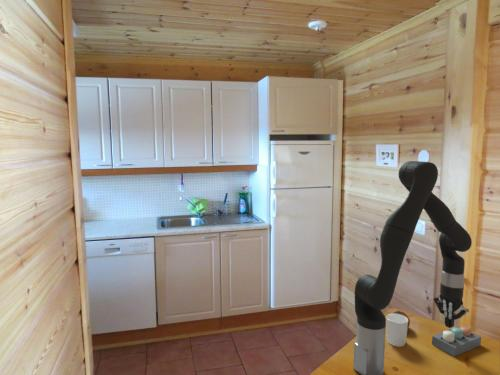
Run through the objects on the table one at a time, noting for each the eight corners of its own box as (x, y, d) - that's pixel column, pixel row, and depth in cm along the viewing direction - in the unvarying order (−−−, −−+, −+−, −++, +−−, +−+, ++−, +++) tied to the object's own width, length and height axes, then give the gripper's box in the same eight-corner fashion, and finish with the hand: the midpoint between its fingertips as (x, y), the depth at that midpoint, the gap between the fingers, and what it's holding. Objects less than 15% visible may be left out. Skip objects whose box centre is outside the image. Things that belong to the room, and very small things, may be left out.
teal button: (458, 343, 134) (458, 333, 134) (448, 338, 137) (449, 328, 137) (464, 340, 136) (465, 331, 135) (454, 336, 139) (455, 326, 139)
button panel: (454, 356, 129) (454, 347, 129) (431, 344, 137) (432, 335, 137) (480, 345, 136) (481, 336, 136) (458, 334, 144) (458, 326, 144)
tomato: (386, 328, 149) (387, 312, 148) (393, 321, 155) (393, 305, 155) (406, 334, 144) (407, 318, 143) (412, 326, 150) (413, 310, 149)
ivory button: (449, 346, 132) (450, 336, 131) (440, 341, 135) (440, 332, 135) (456, 344, 134) (456, 334, 133) (446, 339, 137) (447, 329, 136)
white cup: (409, 348, 135) (410, 324, 133) (387, 346, 136) (388, 322, 135) (404, 337, 142) (405, 314, 141) (383, 335, 144) (384, 312, 143)
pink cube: (466, 342, 136) (466, 332, 136) (456, 337, 140) (457, 327, 139) (472, 339, 138) (473, 330, 138) (462, 335, 141) (463, 325, 141)
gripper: (429, 278, 136) (426, 321, 138) (463, 291, 124) (459, 337, 126) (442, 275, 139) (439, 316, 141) (476, 287, 127) (472, 332, 129)
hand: (449, 326), depth 134 cm, fingers closed
